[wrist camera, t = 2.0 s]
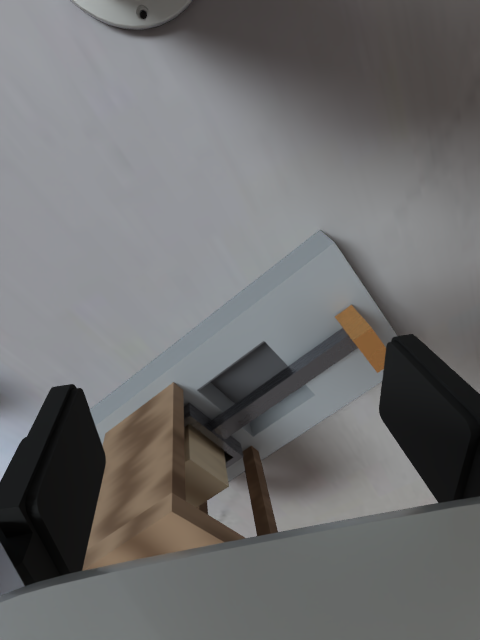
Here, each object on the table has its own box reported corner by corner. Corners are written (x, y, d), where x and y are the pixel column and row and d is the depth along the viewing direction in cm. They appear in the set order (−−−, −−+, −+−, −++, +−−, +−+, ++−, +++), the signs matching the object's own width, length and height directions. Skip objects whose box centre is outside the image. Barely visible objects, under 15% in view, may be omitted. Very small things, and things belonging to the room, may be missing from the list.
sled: (341, 290, 36) (361, 313, 32) (382, 347, 40) (404, 373, 37) (128, 446, 42) (124, 480, 38) (183, 482, 46) (184, 516, 42)
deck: (320, 229, 37) (334, 242, 34) (396, 341, 46) (413, 360, 42) (21, 463, 47) (9, 491, 43) (130, 520, 55) (126, 548, 52)
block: (188, 415, 42) (189, 459, 36) (222, 442, 44) (228, 486, 39) (148, 444, 43) (144, 490, 38) (184, 468, 46) (185, 514, 40)
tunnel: (173, 382, 39) (171, 511, 27) (258, 451, 46) (289, 580, 34) (105, 433, 41) (74, 575, 29) (196, 492, 48) (203, 627, 36)
